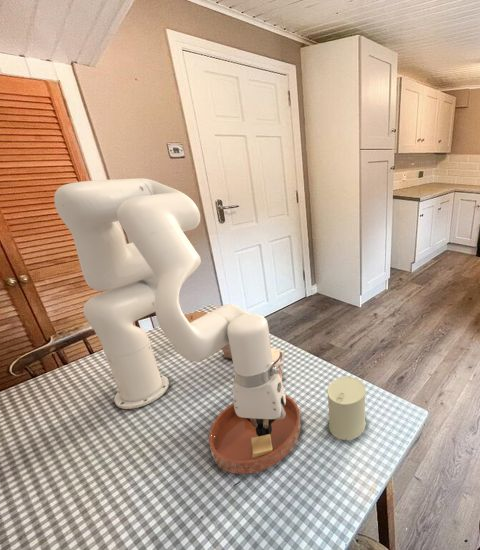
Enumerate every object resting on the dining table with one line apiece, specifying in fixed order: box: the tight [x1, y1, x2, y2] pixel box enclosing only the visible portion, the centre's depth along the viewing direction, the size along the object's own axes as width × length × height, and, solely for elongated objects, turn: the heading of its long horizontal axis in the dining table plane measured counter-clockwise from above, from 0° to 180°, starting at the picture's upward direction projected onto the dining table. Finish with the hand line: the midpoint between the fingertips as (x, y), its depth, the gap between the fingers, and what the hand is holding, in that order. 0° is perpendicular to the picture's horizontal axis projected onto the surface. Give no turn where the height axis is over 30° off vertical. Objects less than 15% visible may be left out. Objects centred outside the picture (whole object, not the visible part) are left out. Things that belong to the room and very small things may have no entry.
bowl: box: [208, 394, 302, 475], centre depth 72 cm, size 20×20×4 cm
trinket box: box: [184, 311, 208, 323], centre depth 111 cm, size 11×11×9 cm
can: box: [326, 376, 367, 441], centre depth 74 cm, size 9×9×12 cm
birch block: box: [250, 434, 273, 459], centre depth 66 cm, size 4×4×4 cm
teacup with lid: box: [271, 347, 284, 381], centre depth 90 cm, size 12×9×12 cm
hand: (264, 435), depth 70 cm, fingers closed
